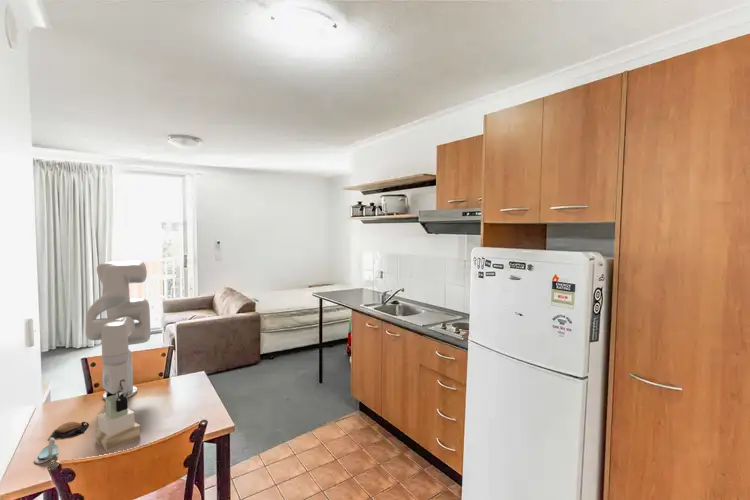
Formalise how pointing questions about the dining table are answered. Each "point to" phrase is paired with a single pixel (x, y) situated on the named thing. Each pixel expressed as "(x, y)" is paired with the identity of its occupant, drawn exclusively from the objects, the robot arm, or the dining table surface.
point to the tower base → (117, 437)
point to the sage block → (113, 407)
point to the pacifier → (47, 452)
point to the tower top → (115, 423)
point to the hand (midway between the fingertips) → (117, 406)
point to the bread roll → (69, 430)
